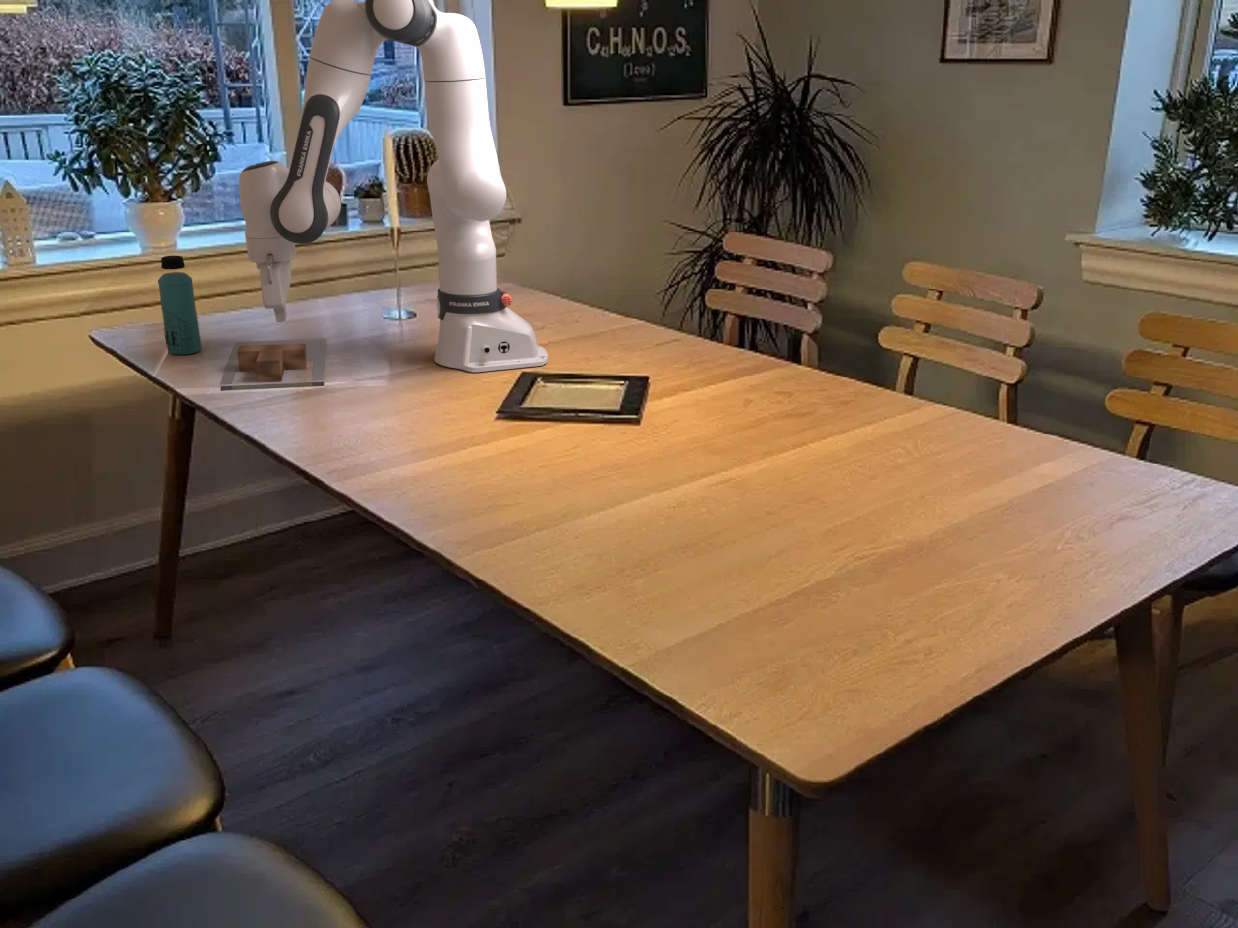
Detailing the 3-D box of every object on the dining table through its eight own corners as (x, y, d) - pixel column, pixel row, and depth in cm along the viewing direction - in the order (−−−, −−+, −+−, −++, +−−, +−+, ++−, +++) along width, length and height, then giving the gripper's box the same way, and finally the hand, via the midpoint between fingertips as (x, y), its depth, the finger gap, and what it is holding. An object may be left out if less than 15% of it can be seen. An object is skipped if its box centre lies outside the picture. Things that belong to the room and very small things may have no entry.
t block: (307, 363, 213) (305, 343, 211) (304, 380, 203) (302, 359, 201) (241, 366, 210) (239, 345, 209) (235, 383, 200) (233, 362, 199)
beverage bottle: (208, 353, 222) (196, 253, 214) (193, 363, 216) (180, 260, 208) (177, 352, 222) (164, 252, 215) (161, 361, 216) (147, 258, 209)
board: (327, 344, 230) (326, 338, 230) (324, 385, 204) (323, 379, 203) (235, 347, 226) (235, 341, 226) (220, 390, 200) (220, 384, 200)
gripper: (284, 259, 203) (294, 332, 209) (292, 238, 222) (301, 306, 227) (248, 261, 202) (259, 335, 207) (259, 240, 221) (269, 308, 226)
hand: (281, 320), depth 217 cm, fingers closed
